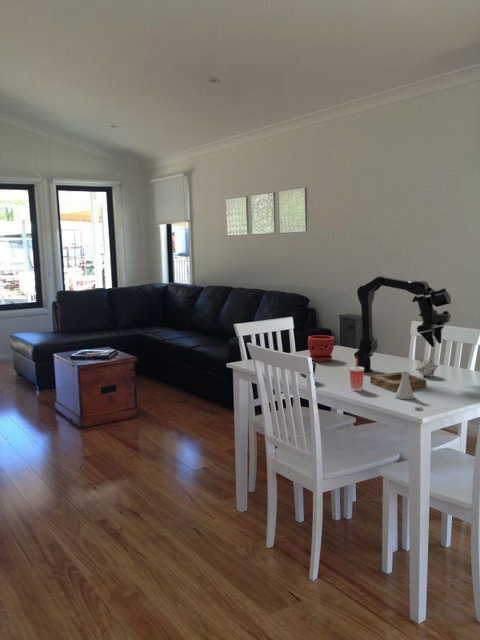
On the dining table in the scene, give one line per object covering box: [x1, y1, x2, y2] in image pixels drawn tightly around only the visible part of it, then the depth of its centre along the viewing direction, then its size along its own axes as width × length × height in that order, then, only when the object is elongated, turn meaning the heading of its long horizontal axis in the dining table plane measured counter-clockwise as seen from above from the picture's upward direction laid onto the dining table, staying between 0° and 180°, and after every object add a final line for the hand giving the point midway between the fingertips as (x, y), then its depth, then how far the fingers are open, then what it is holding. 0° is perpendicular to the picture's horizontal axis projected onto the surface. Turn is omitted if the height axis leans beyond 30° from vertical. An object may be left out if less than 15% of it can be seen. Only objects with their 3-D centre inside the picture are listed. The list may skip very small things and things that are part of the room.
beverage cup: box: [348, 356, 365, 392], centre depth 235 cm, size 6×6×14 cm
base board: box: [369, 371, 427, 393], centre depth 241 cm, size 16×16×3 cm
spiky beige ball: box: [415, 357, 439, 378], centre depth 255 cm, size 9×8×10 cm
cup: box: [299, 362, 317, 378], centre depth 251 cm, size 8×7×8 cm
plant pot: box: [307, 334, 335, 362], centre depth 294 cm, size 13×13×12 cm
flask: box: [395, 370, 415, 400], centre depth 223 cm, size 7×7×10 cm
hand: (436, 344), depth 247 cm, fingers open, 9 cm apart
